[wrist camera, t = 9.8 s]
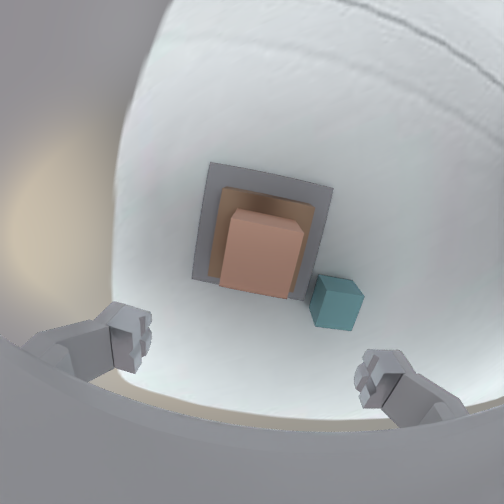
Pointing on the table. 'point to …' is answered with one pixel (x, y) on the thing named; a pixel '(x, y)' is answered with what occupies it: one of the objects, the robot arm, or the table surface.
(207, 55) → the table surface
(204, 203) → the mat
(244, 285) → the terracotta cube
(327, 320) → the teal cube
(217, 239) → the base brick
